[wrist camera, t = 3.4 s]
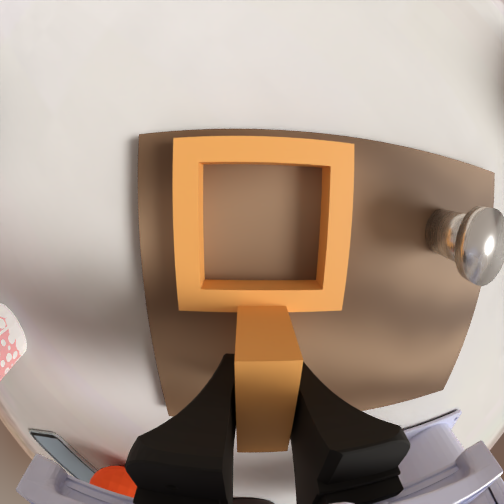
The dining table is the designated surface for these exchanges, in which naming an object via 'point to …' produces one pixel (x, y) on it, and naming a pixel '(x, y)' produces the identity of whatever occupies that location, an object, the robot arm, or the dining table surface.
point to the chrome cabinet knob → (469, 241)
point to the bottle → (251, 501)
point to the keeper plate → (305, 266)
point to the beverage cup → (10, 340)
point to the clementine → (114, 480)
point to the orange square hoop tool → (263, 291)
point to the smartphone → (64, 454)
